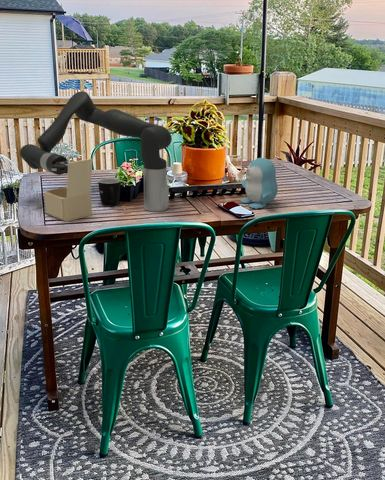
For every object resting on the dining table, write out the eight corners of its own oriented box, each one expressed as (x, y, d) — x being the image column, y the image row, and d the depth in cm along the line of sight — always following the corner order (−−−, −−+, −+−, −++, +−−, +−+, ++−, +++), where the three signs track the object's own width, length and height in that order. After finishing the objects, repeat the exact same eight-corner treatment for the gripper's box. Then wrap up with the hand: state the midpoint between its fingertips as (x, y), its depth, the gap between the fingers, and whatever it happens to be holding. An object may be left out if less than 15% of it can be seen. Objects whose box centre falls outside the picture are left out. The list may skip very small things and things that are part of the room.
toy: (232, 198, 220) (235, 153, 213) (260, 195, 225) (264, 152, 218) (257, 213, 200) (261, 164, 192) (288, 210, 204) (292, 162, 197)
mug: (97, 201, 210) (96, 178, 207) (118, 200, 213) (117, 177, 210) (102, 210, 200) (101, 185, 196) (124, 208, 203) (123, 184, 199)
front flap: (68, 162, 176) (68, 162, 176) (92, 158, 183) (92, 158, 183) (66, 197, 182) (67, 198, 182) (89, 192, 190) (90, 193, 189)
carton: (44, 213, 194) (42, 191, 191) (71, 206, 203) (70, 185, 200) (64, 222, 185) (63, 198, 182) (93, 214, 194) (91, 192, 191)
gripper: (37, 156, 187) (63, 163, 176) (68, 151, 196) (93, 158, 185) (39, 175, 189) (64, 184, 178) (69, 170, 198) (94, 178, 187)
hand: (79, 171), depth 181 cm, fingers closed
